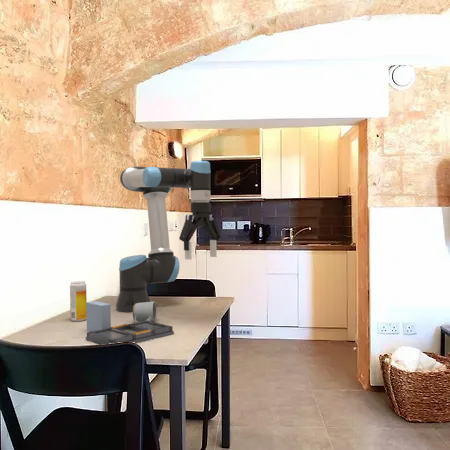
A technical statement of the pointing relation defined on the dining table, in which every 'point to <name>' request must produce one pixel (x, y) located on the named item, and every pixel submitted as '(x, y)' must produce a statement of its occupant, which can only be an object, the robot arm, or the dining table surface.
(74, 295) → the beer can
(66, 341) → the dining table surface
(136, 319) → the ceramic mug
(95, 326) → the blue-grey rectangular block
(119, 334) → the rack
